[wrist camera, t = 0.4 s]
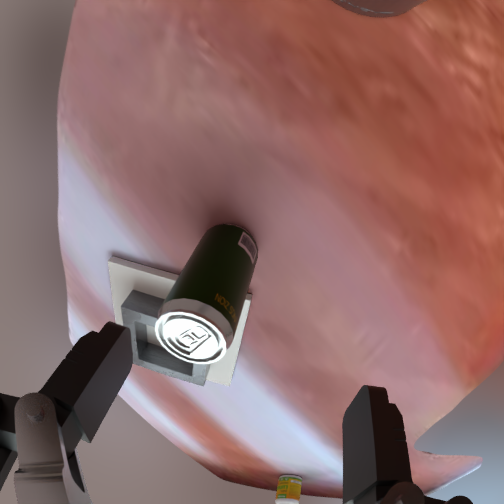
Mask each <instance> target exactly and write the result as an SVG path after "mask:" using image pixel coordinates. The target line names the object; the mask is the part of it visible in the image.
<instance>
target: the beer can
mask: <svg viewBox="0 0 504 504" xmlns="http://www.w3.org/2000/svg"><path fill="white" fill-rule="evenodd" d="M257 258H258V248H257V245H256V242H255V240H254V239H253V237H252V236H251V234H250V233H249V232H248V231H247V230H245V229H244V228H243V227H240V226H238V225H235V224H227V223H226V224H221V225H217V226H214V227H212V228H211V229H209V230H208V231H207V232H206V233H205V234H204V236H203V237H202V239H201V240H200V242H199V244H198V245H197V247H196V248H195V250H194V252H193V253H192V255H191V257H190V258H189V260H188V262H187V263H186V265H185V267H184V268H183V270H182V272H181V273H180V275H179V277H178V278H177V280H176V282H175V283H174V285H173V287H172V288H171V290H170V292H169V293H168V295H167V297H166V299H165V300H164V302H163V304H162V305H161V307H160V309H159V311H158V316H157V321H156V325H155V333H156V337H157V339H158V340H159V342H160V343H161V345H162V346H163V347H164V348H165V349H166V350H167V351H168V352H170V353H171V354H173V355H174V356H176V357H177V358H179V359H182V360H184V361H187V362H190V363H195V364H210V363H214V362H217V361H218V360H220V359H221V358H222V357H223V356H224V354H225V352H226V350H227V349H228V348H230V346H231V344H232V342H233V339H234V336H235V333H236V329H237V326H238V322H239V319H240V316H241V312H242V309H243V306H244V302H245V299H246V295H247V292H248V289H249V285H250V282H251V278H252V275H253V272H254V268H255V265H256V261H257Z"/></svg>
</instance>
